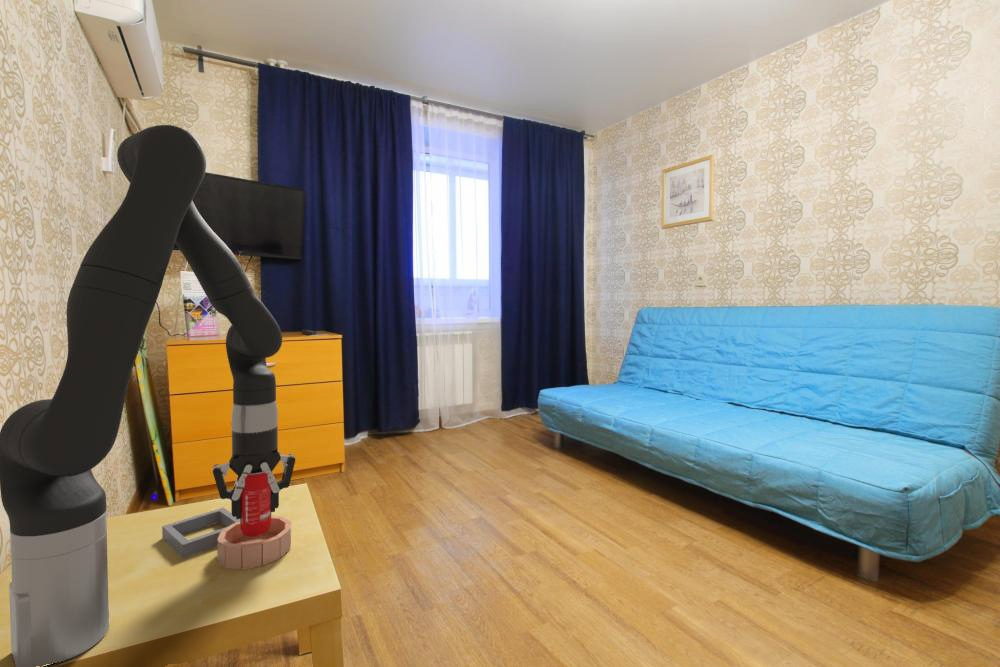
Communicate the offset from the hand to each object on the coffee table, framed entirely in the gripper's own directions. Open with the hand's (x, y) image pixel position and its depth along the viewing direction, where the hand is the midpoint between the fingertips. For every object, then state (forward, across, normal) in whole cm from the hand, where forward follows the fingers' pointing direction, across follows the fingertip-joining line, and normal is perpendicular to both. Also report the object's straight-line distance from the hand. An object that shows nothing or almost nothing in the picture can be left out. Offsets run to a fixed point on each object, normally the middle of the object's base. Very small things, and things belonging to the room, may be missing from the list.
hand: (255, 513), depth 84 cm
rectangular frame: (+7, -8, +11) cm, 15 cm away
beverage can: (+4, 0, 0) cm, 4 cm away
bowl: (+7, 0, 0) cm, 7 cm away
